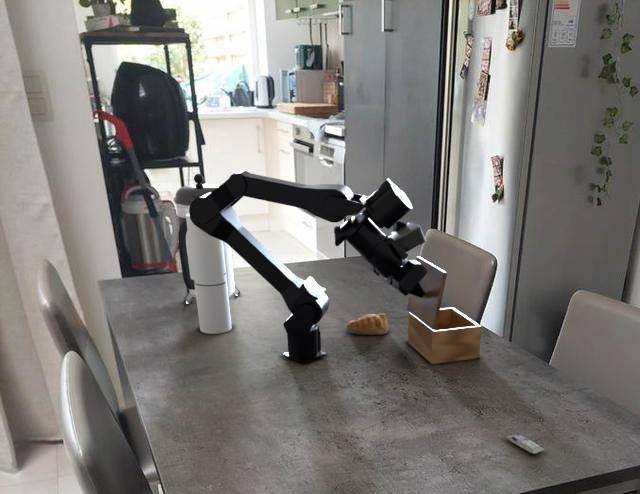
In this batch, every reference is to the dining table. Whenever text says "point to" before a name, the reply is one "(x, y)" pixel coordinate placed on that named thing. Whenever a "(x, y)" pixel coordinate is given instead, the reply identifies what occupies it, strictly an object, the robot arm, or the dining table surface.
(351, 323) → the pastry
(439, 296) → the lid
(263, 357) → the dining table surface
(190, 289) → the coffee press
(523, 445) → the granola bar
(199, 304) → the cylindrical container
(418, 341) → the caddy
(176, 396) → the dining table surface
